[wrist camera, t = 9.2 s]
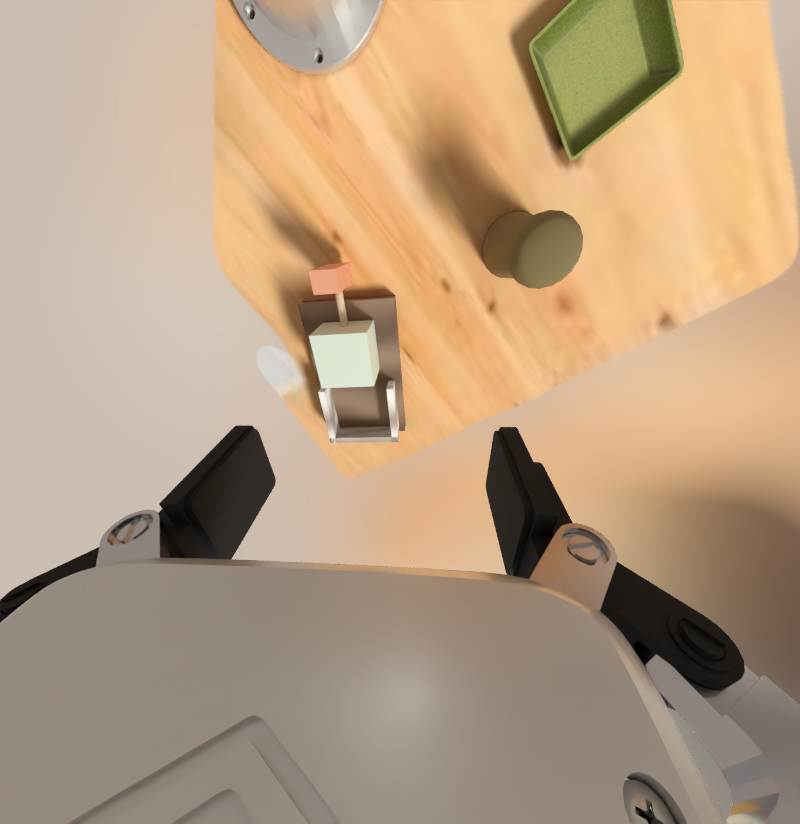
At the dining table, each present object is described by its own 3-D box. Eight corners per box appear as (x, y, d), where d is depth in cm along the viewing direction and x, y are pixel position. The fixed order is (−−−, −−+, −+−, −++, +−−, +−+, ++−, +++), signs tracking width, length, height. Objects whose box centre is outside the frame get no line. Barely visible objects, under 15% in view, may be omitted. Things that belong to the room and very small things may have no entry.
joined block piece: (310, 265, 31) (288, 272, 26) (366, 261, 30) (355, 267, 25) (333, 370, 37) (318, 392, 32) (379, 368, 36) (372, 390, 31)
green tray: (636, -59, 20) (656, -86, 18) (667, 83, 24) (686, 71, 22) (518, 58, 23) (526, 44, 22) (560, 167, 27) (570, 163, 25)
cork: (470, 257, 31) (490, 269, 21) (509, 196, 28) (552, 179, 19) (513, 289, 32) (550, 313, 23) (556, 234, 29) (618, 235, 20)
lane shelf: (303, 301, 34) (289, 309, 31) (395, 295, 33) (391, 302, 30) (332, 426, 44) (325, 442, 40) (405, 424, 43) (403, 441, 39)
